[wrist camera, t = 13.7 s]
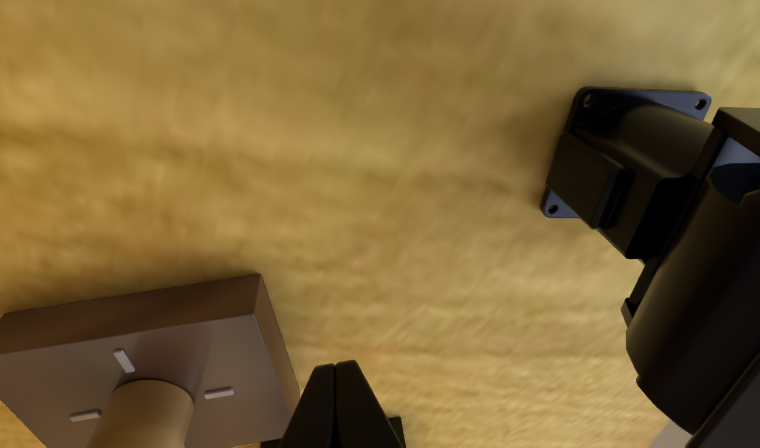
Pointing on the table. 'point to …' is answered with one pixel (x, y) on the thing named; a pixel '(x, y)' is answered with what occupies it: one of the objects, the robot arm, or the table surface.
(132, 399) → the volume knob
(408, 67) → the table surface
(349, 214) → the table surface
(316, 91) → the table surface
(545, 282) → the table surface
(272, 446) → the switch block
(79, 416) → the console
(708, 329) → the robot arm
